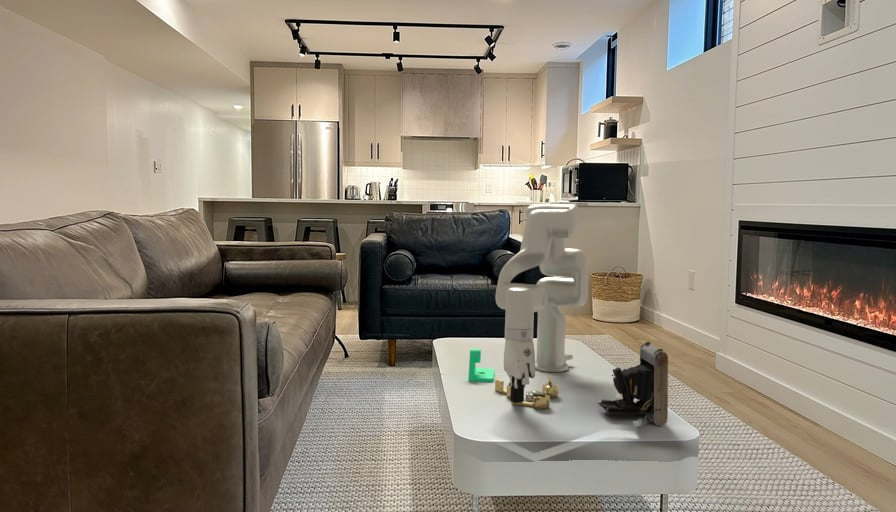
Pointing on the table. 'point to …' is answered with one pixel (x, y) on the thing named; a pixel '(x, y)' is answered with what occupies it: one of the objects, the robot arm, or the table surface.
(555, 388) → the foot screw
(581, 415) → the table surface
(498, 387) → the foot screw
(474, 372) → the camera mount
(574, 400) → the table surface
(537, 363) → the robot arm
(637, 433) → the table surface
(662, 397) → the vintage camera
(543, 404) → the foot screw
